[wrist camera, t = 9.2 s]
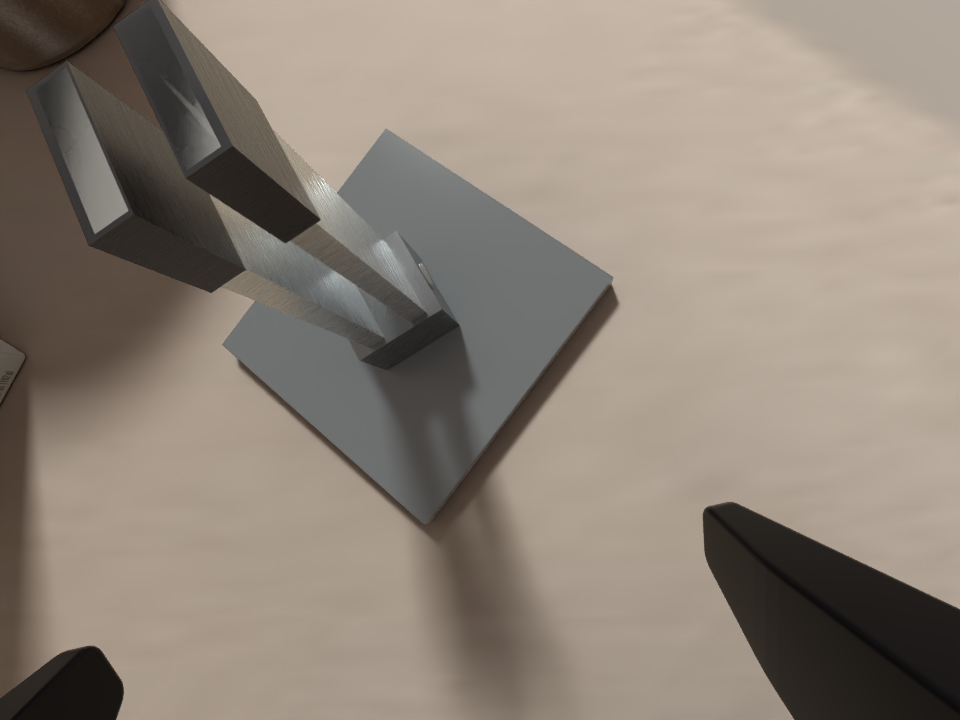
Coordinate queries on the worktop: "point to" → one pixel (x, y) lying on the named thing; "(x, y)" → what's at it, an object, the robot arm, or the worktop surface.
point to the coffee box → (8, 366)
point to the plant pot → (49, 29)
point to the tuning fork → (227, 197)
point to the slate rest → (450, 359)
